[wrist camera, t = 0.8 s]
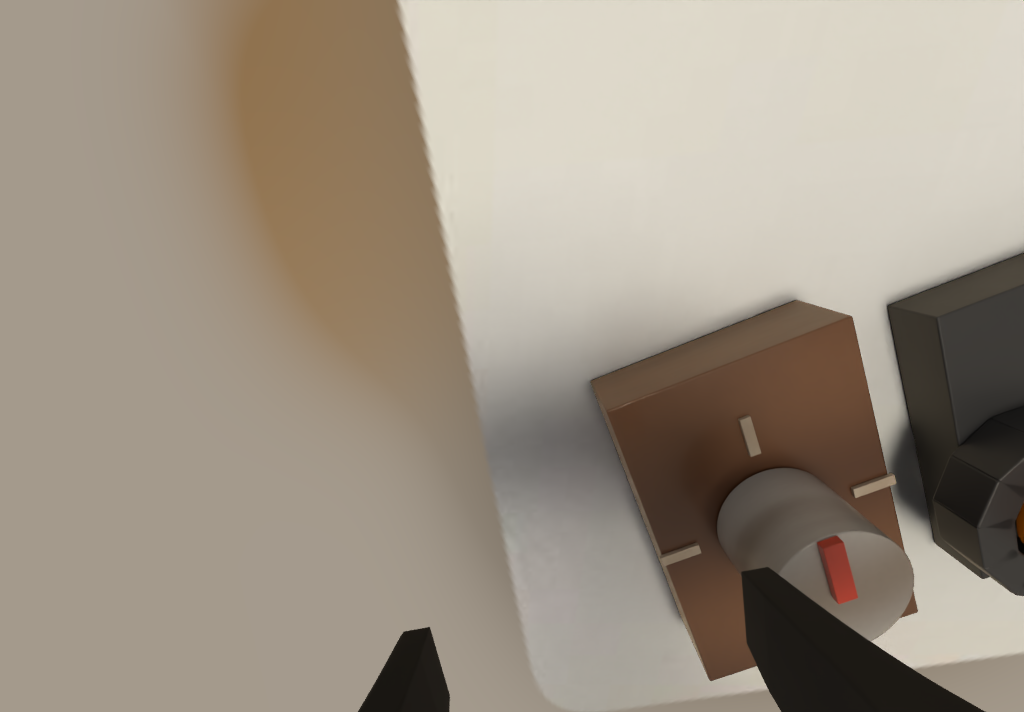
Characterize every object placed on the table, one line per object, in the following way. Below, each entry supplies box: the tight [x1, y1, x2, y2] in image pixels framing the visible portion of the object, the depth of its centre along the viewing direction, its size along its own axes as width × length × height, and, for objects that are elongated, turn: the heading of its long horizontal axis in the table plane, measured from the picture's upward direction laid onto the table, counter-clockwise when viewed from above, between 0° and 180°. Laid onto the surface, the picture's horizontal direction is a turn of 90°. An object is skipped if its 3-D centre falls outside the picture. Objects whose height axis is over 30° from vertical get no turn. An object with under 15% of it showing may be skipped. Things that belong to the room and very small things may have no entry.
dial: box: [717, 468, 914, 641], centre depth 15 cm, size 4×4×4 cm
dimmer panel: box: [590, 300, 918, 681], centre depth 19 cm, size 12×8×3 cm
